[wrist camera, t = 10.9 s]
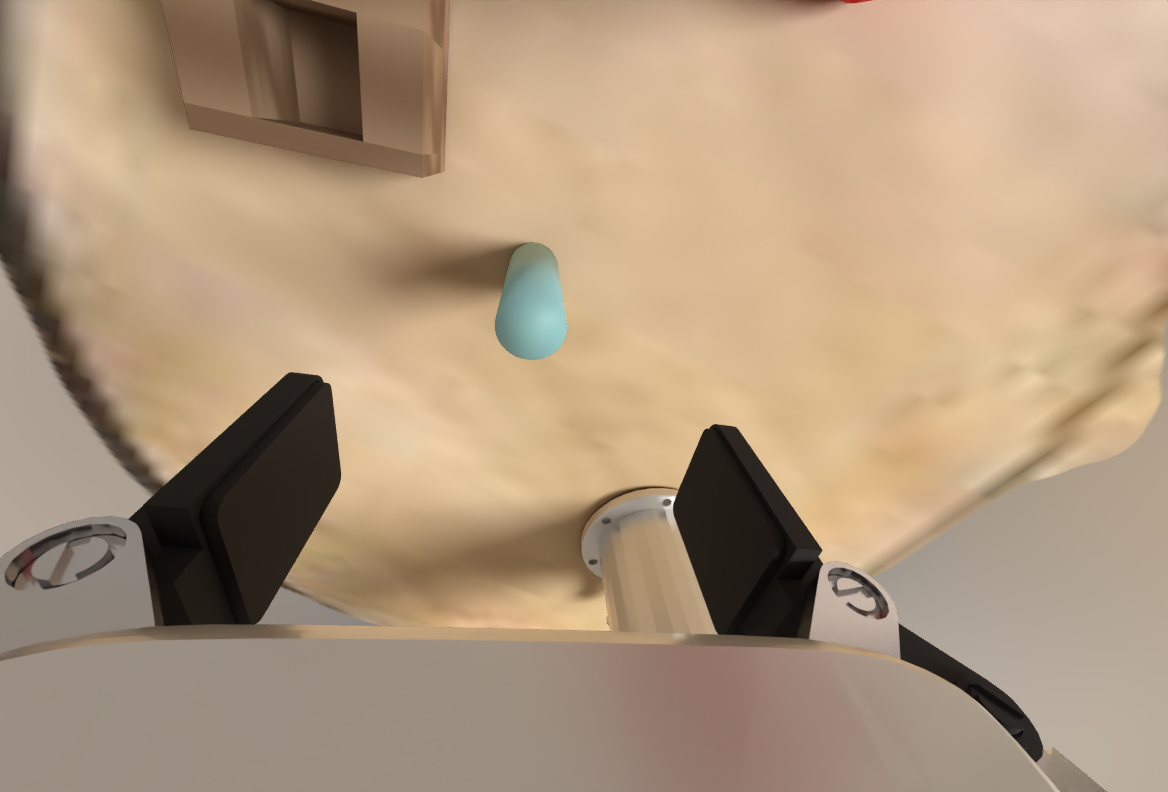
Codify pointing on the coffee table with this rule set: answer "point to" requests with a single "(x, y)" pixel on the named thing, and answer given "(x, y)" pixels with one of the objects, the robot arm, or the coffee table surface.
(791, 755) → the robot arm
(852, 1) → the water bottle
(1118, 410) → the coffee table surface
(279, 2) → the block
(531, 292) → the dowel
